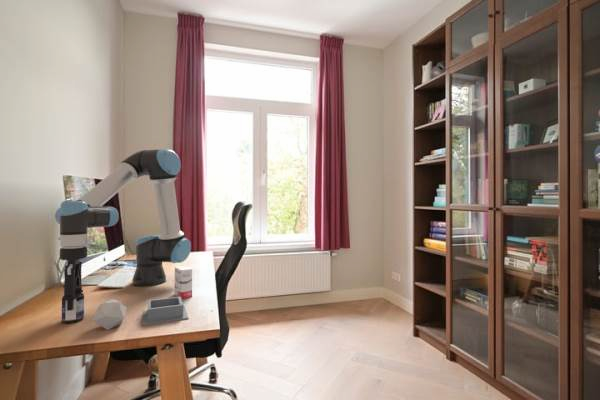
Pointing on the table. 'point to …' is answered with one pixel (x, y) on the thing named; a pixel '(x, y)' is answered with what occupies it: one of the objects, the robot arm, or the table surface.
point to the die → (110, 314)
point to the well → (164, 311)
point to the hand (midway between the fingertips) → (73, 316)
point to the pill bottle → (79, 306)
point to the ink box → (183, 282)
